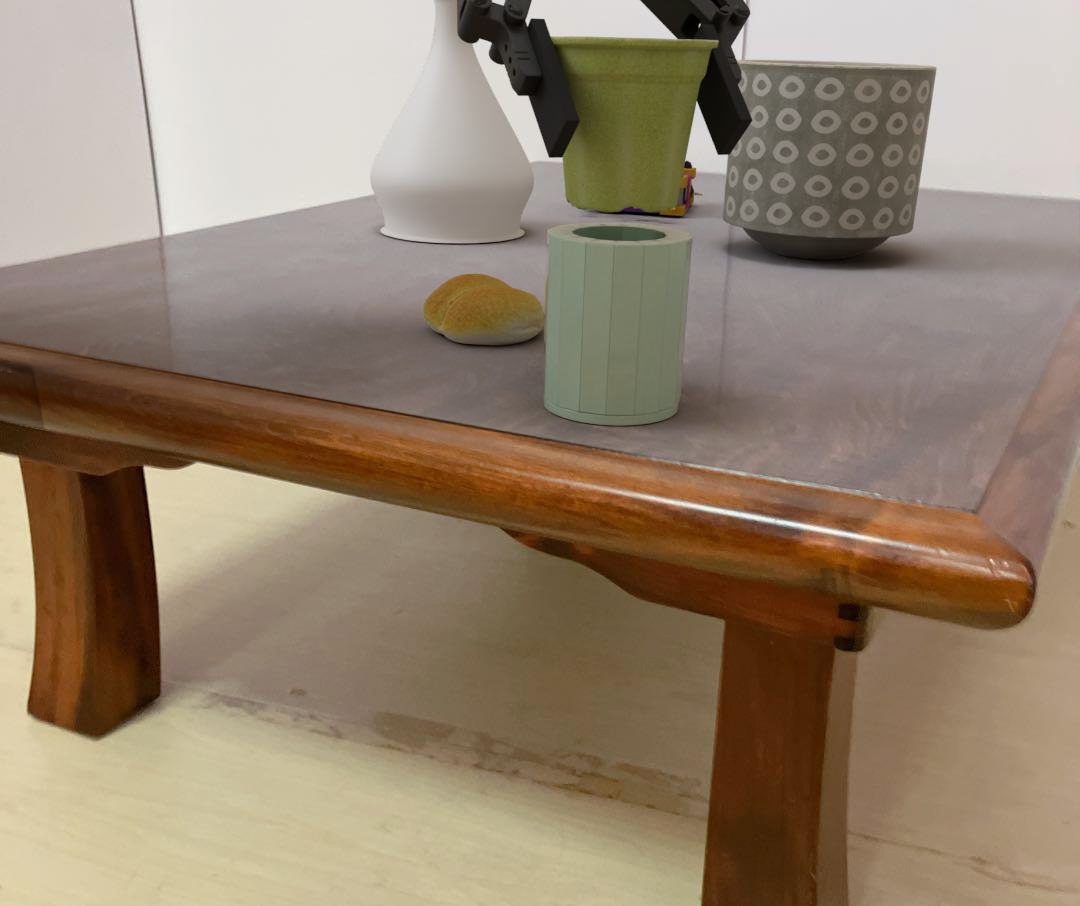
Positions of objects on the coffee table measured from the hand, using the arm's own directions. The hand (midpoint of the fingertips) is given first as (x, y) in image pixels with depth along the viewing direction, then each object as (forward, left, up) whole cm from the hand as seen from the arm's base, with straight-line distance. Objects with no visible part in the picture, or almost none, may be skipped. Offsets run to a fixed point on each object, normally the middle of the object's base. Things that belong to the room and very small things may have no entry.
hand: (652, 138), depth 61 cm
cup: (-1, +3, -15) cm, 16 cm away
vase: (-10, +67, -15) cm, 69 cm away
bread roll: (-8, +21, -15) cm, 27 cm away
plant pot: (-1, +3, -4) cm, 5 cm away
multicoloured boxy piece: (+14, +89, -15) cm, 91 cm away
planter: (+27, +57, -15) cm, 65 cm away
